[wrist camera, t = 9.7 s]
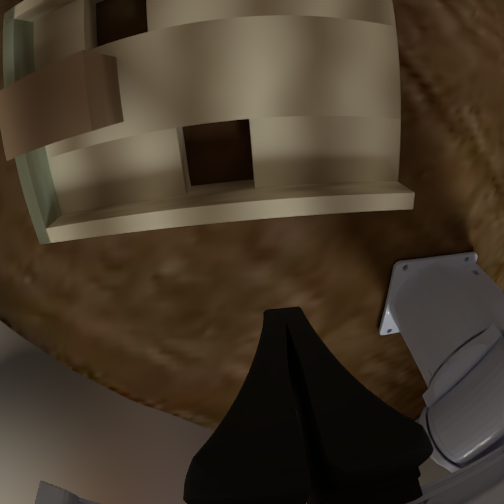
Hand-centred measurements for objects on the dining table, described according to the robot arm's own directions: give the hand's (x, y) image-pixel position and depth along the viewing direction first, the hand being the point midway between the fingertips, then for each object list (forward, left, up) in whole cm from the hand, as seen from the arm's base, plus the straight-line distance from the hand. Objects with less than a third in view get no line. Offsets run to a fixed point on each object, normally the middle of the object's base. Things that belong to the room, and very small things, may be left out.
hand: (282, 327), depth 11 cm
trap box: (+2, -10, -10) cm, 14 cm away
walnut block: (+10, -10, -8) cm, 17 cm away
